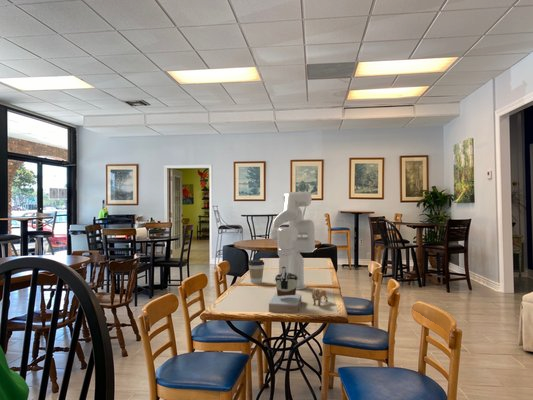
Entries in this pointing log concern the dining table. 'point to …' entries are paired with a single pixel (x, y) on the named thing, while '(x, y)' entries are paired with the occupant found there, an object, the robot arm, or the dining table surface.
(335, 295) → the dining table surface
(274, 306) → the pedestal
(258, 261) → the coffee cup
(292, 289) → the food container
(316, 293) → the lion figurine
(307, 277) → the dining table surface
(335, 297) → the dining table surface
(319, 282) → the dining table surface
